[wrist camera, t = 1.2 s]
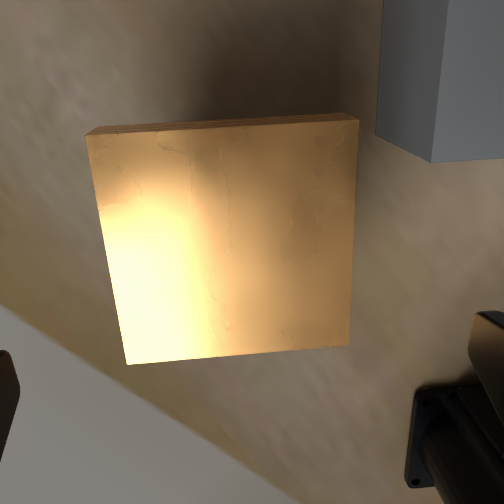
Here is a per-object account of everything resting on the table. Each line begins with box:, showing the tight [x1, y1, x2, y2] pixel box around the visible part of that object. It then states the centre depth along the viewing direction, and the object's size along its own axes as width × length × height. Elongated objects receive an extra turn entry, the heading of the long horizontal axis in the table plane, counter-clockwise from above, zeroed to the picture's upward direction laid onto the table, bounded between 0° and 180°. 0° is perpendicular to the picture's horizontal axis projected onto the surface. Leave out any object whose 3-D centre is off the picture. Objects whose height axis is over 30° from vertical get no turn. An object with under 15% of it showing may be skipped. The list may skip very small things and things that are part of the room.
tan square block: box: [85, 113, 359, 364], centre depth 16 cm, size 7×7×6 cm
